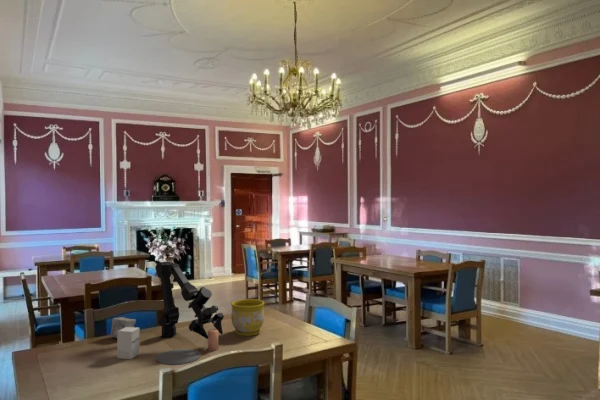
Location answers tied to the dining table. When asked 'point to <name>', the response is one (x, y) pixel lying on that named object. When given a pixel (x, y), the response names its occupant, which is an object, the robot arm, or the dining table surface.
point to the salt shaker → (213, 340)
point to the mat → (178, 356)
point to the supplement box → (128, 342)
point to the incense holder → (121, 324)
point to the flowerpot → (247, 316)
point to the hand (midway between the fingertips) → (215, 336)
